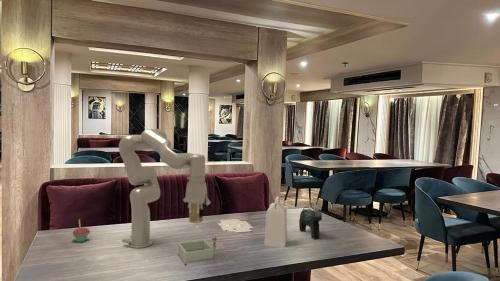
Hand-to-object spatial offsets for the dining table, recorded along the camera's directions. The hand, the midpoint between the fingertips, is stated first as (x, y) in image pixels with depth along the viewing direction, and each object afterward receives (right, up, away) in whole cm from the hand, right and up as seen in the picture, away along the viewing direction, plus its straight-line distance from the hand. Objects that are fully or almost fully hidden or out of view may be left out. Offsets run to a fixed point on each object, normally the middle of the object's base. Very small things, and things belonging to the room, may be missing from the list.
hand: (196, 215), depth 166 cm
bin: (-1, -21, +1) cm, 21 cm away
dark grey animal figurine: (+63, -22, +41) cm, 78 cm away
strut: (0, -3, 0) cm, 3 cm away
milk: (+41, -22, +26) cm, 54 cm away
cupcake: (-67, -19, +20) cm, 73 cm away
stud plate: (+7, -21, +14) cm, 26 cm away
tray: (+17, -20, +55) cm, 61 cm away
